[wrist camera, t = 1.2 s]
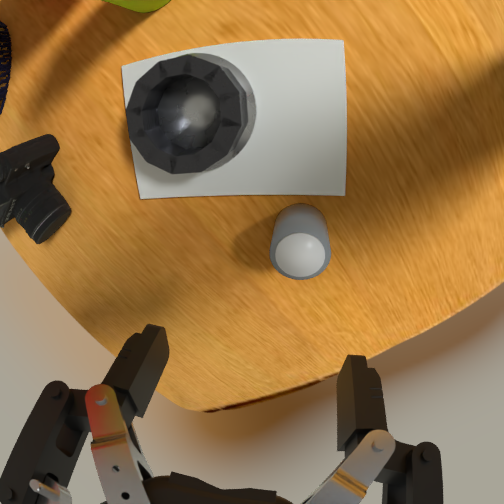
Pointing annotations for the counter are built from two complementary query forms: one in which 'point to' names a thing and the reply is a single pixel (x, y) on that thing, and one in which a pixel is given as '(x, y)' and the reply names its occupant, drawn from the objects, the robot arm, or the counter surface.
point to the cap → (300, 242)
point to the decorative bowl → (4, 67)
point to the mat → (270, 123)
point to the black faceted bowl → (191, 113)
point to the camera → (32, 188)
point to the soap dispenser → (140, 4)
